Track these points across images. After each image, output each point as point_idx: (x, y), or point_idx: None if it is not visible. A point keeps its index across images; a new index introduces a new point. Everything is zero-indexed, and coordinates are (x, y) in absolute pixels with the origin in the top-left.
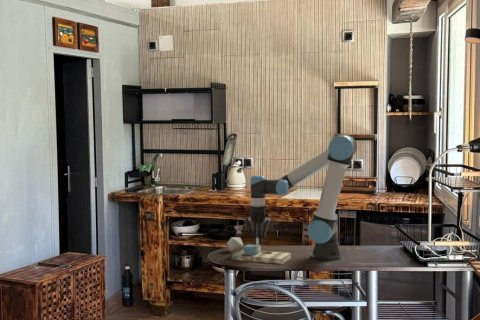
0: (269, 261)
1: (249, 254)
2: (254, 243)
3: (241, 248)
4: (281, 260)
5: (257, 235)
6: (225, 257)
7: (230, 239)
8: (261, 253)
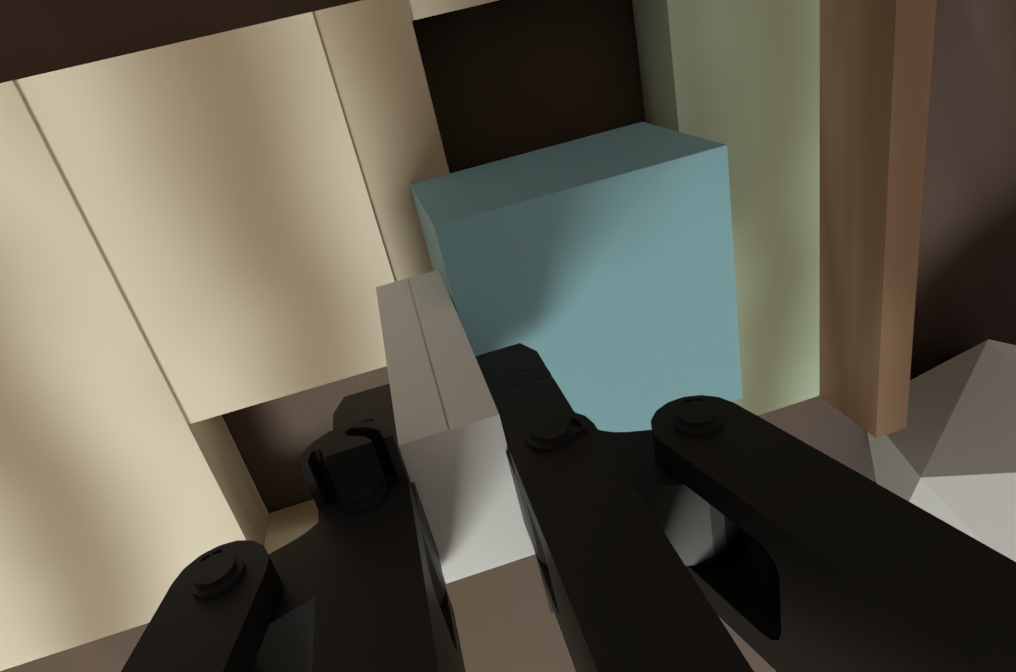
0: None
1: (532, 151)
2: (530, 351)
3: (845, 373)
4: None
5: (550, 595)
6: (941, 12)
7: None
8: None
